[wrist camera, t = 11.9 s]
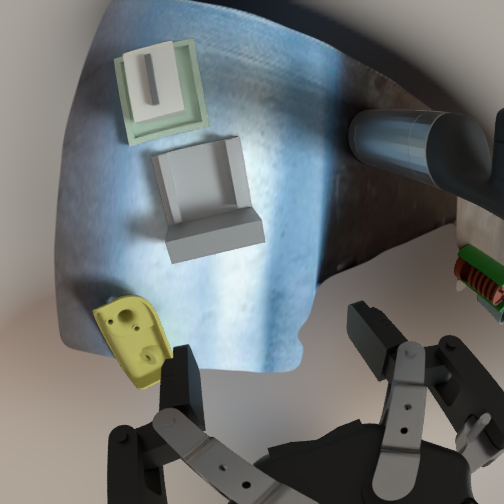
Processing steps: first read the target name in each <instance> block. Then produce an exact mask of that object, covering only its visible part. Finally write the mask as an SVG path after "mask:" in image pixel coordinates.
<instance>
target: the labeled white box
mask: <svg viewBox="0 0 504 504" xmlns="http://www.w3.org/2000/svg"><path fill="white" fill-rule="evenodd" d="M123 59H124V66H125V72H126V79H127V85H128V90H129V96H130V101H131V107H132V112H133V117H134V122H135V123H140V124H151V123H154V122H158V121H162V120H166V119H170V118H174V117H178V116H182V115H186V109H185V103H184V98H183V93H182V87H181V82H180V76H179V71H178V65H177V59H176V55H175V51H174V47H173V42H172V41H167V42H163V43H159V44H155V45H151V46H148V47H144V48H140V49H137V50H134V51H130V52H127V53H124V54H123Z"/></svg>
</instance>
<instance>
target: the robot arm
mask: <svg viewBox="0 0 504 504" xmlns="http://www.w3.org/2000/svg"><path fill="white" fill-rule="evenodd" d="M348 141H349V146H350V148H351V151H352V152H353V154H354V155H355V157H356V158H357V159H358V160H360V161H361V162H362V163H365V164H367V165H371V166H374V167H377V168H380V169H384V170H387V171H390V172H393V173H396V174H399V175H402V176H405V177H408V178H411V179H414V180H417V181H420V182H422V183H425V184H428V185H431V186H434V187H436V188H439V189H442V190H444V191H446V192H449V193H452V194H454V195H456V196H458V197H461V198H463V199H465V200H467V201H470V202H472V203H474V204H476V205H478V206H480V207H482V208H484V209H486V210H487V211H489V212H491V213H493V214H494V215H496V216H498V217H500V218H501V219H503V220H504V108H503V109H501V110H500V111H499V112H498V113H497V116H496V122H495V134H494V148H493V159H492V162H491V158H490V153H489V149H488V144H487V141H486V138H485V135H484V133H483V131H482V129H481V127H480V126H479V124H478V123H477V122H476V121H475V120H474V119H472V118H471V117H469V116H467V115H464V114H459V113H449V112H438V111H422V110H398V109H367V110H363V111H361V112H359V113H358V114H357V115H356V116H355V117H354V118H353V120H352V121H351V124H350V126H349V131H348ZM347 333H348V336H349V338H350V339H351V341H352V342H353V344H354V345H355V347H356V348H357V350H358V351H359V353H360V354H361V356H362V357H363V359H364V360H365V362H366V363H367V365H368V366H369V368H370V369H371V371H372V372H373V373H374V375H375V377H376V378H377V380H378V381H382V380H384V379H387V381H388V386H387V391H386V397H385V401H384V406H383V411H382V415H381V419H380V422H379V424H371V423H369V424H362V423H361V422H360V420H359V419H358V420H355V421H353V422H350V423H348V424H345V425H342V426H339V427H337V428H336V429H334V430H333V431H331V432H329V433H328V434H326V435H325V436H323V437H321V438H319V439H317V440H311V441H299V442H290V443H286V444H282V445H278V446H275V447H270V448H268V451H269V454H267V455H265V456H263V457H262V458H260V459H259V460H257V461H256V462H255V463H254V464H253V465H251V464H250V463H248V462H247V461H246V460H244V459H243V458H241V457H240V456H239V455H237V454H236V453H234V452H233V451H232V450H230V449H229V448H228V447H226V446H225V445H224V444H222V443H221V442H220V441H218V440H217V439H216V438H214V437H210V436H208V435H207V434H206V433H204V432H203V431H205V420H204V411H203V401H202V391H201V381H200V380H201V379H200V372H199V368H198V365H197V363H196V360H195V358H194V355H193V353H192V350H191V348H190V346H189V344H187V345H182V346H176V347H174V348H173V358H169V359H165V361H164V363H163V365H162V367H161V379H160V383H161V385H160V403H159V412H158V413H157V414H156V415H155V416H154V419H153V421H152V422H150V423H149V424H147V425H144V426H141V427H139V428H136V429H134V428H133V427H131V426H129V425H121V426H118V427H116V428H114V429H113V430H112V431H111V433H110V435H109V440H108V464H107V494H108V495H107V496H108V497H107V498H108V504H167V496H166V489H165V482H164V472H163V465H165V464H167V463H170V462H173V461H175V460H177V459H181V460H183V461H184V462H185V463H186V464H187V465H188V466H189V467H190V468H191V469H192V470H193V471H194V472H195V473H197V474H198V475H199V476H200V477H201V478H202V479H203V480H205V481H206V482H207V483H208V484H209V485H210V486H211V487H213V488H214V489H215V490H216V491H217V492H218V493H220V494H221V495H222V496H223V497H225V498H226V499H227V500H229V503H228V504H478V503H477V502H476V501H475V499H474V497H473V494H472V489H471V474H472V473H473V472H475V471H476V470H477V469H479V468H480V467H485V466H488V465H489V464H491V463H492V462H493V461H494V460H495V459H496V458H498V457H499V456H500V455H501V454H502V453H503V452H504V391H503V390H502V389H501V387H500V386H499V385H498V384H497V382H496V381H495V380H494V379H493V378H492V376H491V375H490V374H489V372H488V371H487V370H486V369H485V368H484V366H483V365H482V364H481V363H480V362H479V360H478V359H477V358H476V357H475V356H474V354H472V352H471V351H470V350H469V349H468V348H467V346H466V345H465V344H464V343H463V342H462V341H461V340H460V339H459V338H458V337H456V336H452V335H447V336H444V337H442V338H441V339H440V341H439V343H438V345H435V346H428V347H423V346H422V345H421V344H419V343H417V342H413V341H408V340H407V339H406V338H405V337H404V336H403V335H402V333H401V332H400V331H399V330H398V329H397V328H396V327H395V325H394V324H392V322H391V321H390V320H389V319H388V318H387V316H386V315H385V314H384V313H383V312H382V311H380V310H378V309H377V308H374V307H372V308H369V307H368V305H367V304H366V303H365V302H364V301H359V302H356V303H353V304H350V305H348V313H347ZM427 387H428V389H429V390H430V392H431V393H432V395H433V396H434V398H435V399H436V401H437V402H438V404H439V405H440V407H441V408H442V410H443V411H444V413H445V415H446V416H447V418H448V419H449V421H450V423H451V424H452V426H453V427H454V429H455V431H456V432H457V435H456V439H455V443H456V449H457V451H458V452H457V451H454V450H451V449H448V448H445V447H442V446H439V445H436V444H433V443H430V442H427V441H424V440H421V437H422V430H423V423H424V414H425V404H426V391H427Z"/></svg>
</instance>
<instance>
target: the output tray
mask: <svg viewBox="0 0 504 504" xmlns="http://www.w3.org/2000/svg"><path fill="white" fill-rule="evenodd" d="M173 47H174V51H175V55H176V59H177V65H178V71H179V76H180V82H181V87H182V93H183V98H184V103H185V109H186V115H182V116H178V117H174V118H170V119H166V120H162V121H158V122H154V123H151V124H140V123H135V122H134V117H133V112H132V107H131V101H130V96H129V90H128V85H127V79H126V72H125V66H124V59H123V56H122V57H119V58H116V59H114V65H115V71H116V78H117V84H118V90H119V96H120V102H121V107H122V112H123V117H124V122H125V127H126V132H127V137H128V141H129V146H133V145H136V144H140V143H143V142H147V141H150V140H154V139H158V138H161V137H165V136H169V135H173V134H177V133H181V132H186V131H190V130H194V129H199V128H204V127H208V126H210V125H209V120H208V114H207V109H206V104H205V98H204V93H203V87H202V82H201V76H200V71H199V65H198V60H197V54H196V48H195V42H194V38H192V39H187V40H182V41H177V42H173Z"/></svg>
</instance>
